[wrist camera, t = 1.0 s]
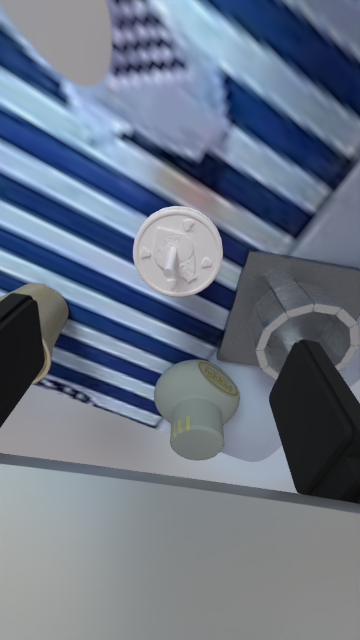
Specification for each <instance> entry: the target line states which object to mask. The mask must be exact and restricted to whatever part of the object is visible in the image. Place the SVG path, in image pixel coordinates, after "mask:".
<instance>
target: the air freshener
mask: <svg viewBox="0 0 360 640" xmlns="http://www.w3.org/2000/svg"><path fill="white" fill-rule="evenodd" d="M154 400H155V404H156V407H157V409H158V411H159V412H160V414H161V415H162V416H163V417H164V418H165V419H166V420H167V421H168V422H170V423H171V437H170V444H171V447H172V449H173V450H174V451H175V452H176V453H177V454H178V455H180V456H182V457H184V458H186V459H190V460H205V459H210V458H212V457H214V456H216V455H217V454H218V453H219V452H220V451H221V450H222V449H223V448H222V447H223V446H224V434H223V425H224V424H225V423H227V422H228V421H229V420H230V419H231V418H232V416H233V415H234V414H235V412H236V410H237V408H238V405H239V400H240V395H239V390H238V388H237V386H236V385H235V384H234V382H233V381H232V380H231V379H230V378H229V377H228V376H227V375H226V374H225V373H224V372H223V371H222V370H221V369H219V368H218V367H217V366H215V365H214V364H212V363H210V362H208V361H205V360H186V361H183V362H179V363H177V364H175V365H173V366H171V367H170V368H168V369H167V370H166V371H165V372H164V373H163V374H162V375H161V377H160V378H159V379H158V382H157V384H156V386H155V391H154Z"/></svg>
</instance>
